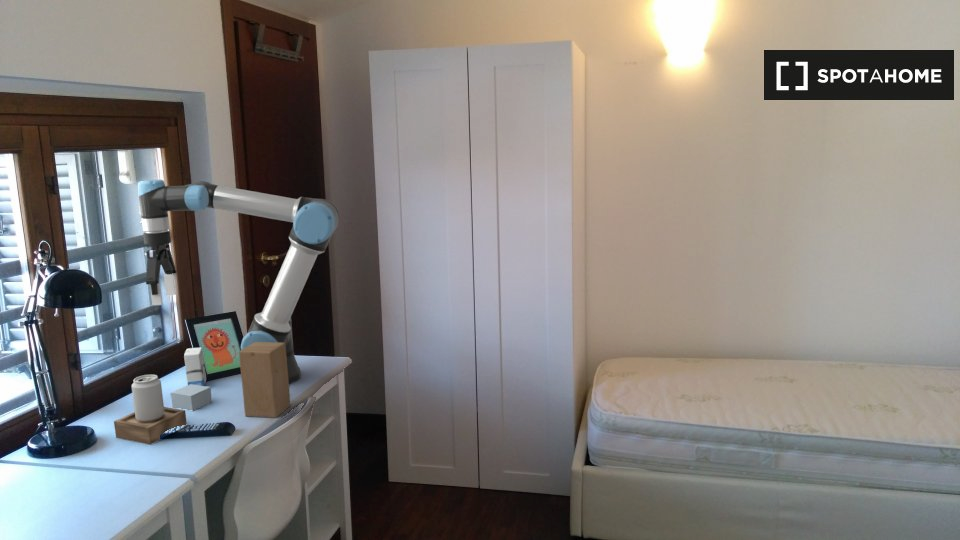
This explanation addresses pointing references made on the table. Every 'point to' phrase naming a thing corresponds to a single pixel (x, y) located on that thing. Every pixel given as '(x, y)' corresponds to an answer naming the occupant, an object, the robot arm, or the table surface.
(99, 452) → the table surface
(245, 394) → the wooden block
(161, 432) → the walnut base block
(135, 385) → the can
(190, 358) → the ink box
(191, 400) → the slate painted block
